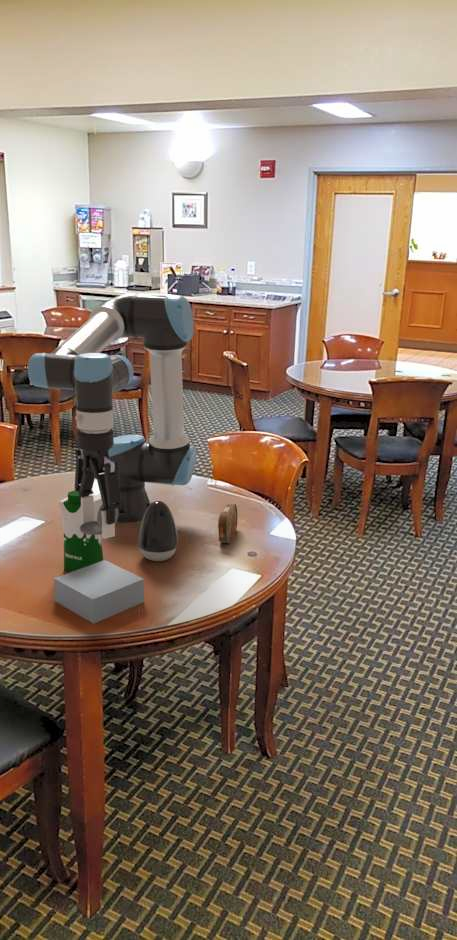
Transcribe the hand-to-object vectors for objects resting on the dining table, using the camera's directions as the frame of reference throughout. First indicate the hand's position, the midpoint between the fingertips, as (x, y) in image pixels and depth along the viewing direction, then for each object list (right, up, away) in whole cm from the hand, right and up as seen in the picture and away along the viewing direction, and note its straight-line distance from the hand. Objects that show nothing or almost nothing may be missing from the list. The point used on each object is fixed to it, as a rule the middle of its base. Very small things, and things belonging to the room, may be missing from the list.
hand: (98, 530), depth 157 cm
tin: (+28, -6, +43) cm, 51 cm away
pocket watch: (0, -1, 0) cm, 1 cm away
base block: (-1, -17, +5) cm, 17 cm away
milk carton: (-7, -11, +22) cm, 26 cm away
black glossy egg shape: (+10, -9, +29) cm, 32 cm away
